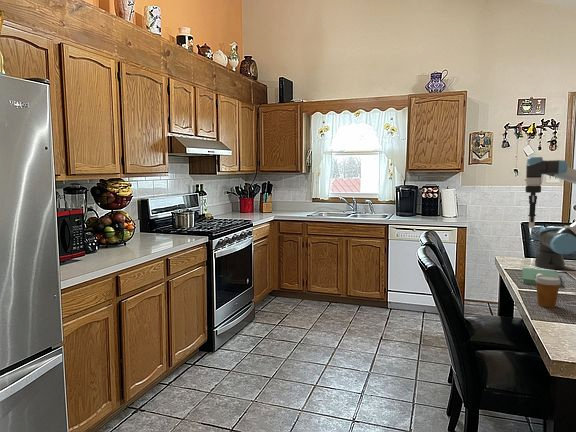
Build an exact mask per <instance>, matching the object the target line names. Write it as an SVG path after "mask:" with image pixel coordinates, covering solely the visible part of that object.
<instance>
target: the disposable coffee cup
mask: <svg viewBox="0 0 576 432" xmlns="http://www.w3.org/2000/svg"><path fill="white" fill-rule="evenodd" d="M535 281H536V285H535V286H536V296H537V305H538V306H539V307H542V306H544V307H543V308H549V307H551V308H555V307H556V305H557V299H558V296H559V295H558V294H559V289H560V287H559V285H560V283H561V284H562V280H561V279H560V277H559V278H558V277H555V276H548V275H538V276H536V279H535Z"/></svg>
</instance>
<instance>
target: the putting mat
mask: <svg viewBox="0 0 576 432" xmlns="http://www.w3.org/2000/svg"><path fill="white" fill-rule="evenodd" d="M521 272H522V283H523V285H531V286H536V281H535V279H536V275H537V274H539V273H540V274H543V275H548V276H555V277H558V278H560V276H559V274H558V271H557V270H555V269H539V268H527V267H522V271H521ZM561 287H562V282H561V283H560V285H559V288H561Z"/></svg>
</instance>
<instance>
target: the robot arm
mask: <svg viewBox="0 0 576 432" xmlns="http://www.w3.org/2000/svg"><path fill="white" fill-rule="evenodd" d="M525 175H526V176H525V179H524V181H525V185H526V186H525V192H524V193H528V194H529V193H530V195H528V204H529V211H528V215H527V216H528V229H535V221H536V218H535V217H536V216H537V214H536V204H537V200H538V196H537V195H536V193H537V194H539V193H542V185H543V183H542V182H543V181H542V179H543V178H542V177H543V175H545V176H549V177H553V178H556V179H559V180H563V181H565V182H568V183H571V184H574V185H576V169H575V168H572V167H569V165H568V161H566V160H564V159H561V160H560V159H557V160H556V159H555V160H552V159H551V160H544V158H543V157H542V156H534V157H533V156H529V157H527V159H526V174H525ZM538 234H539V236H538V237H539V240H538V241H539V243H538V254H537V256H536V258H535V260H534V266H536V267H538V268H543V269H548V270H561V269H562V270H563V269H565V267H566V262H565V260H564V257H563V255H570V254H572V253H574V252H575V251H576V220H575V221H574V222H572V223H571V224H569V225H563V226H562V227H540V229H539V233H538Z"/></svg>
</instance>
